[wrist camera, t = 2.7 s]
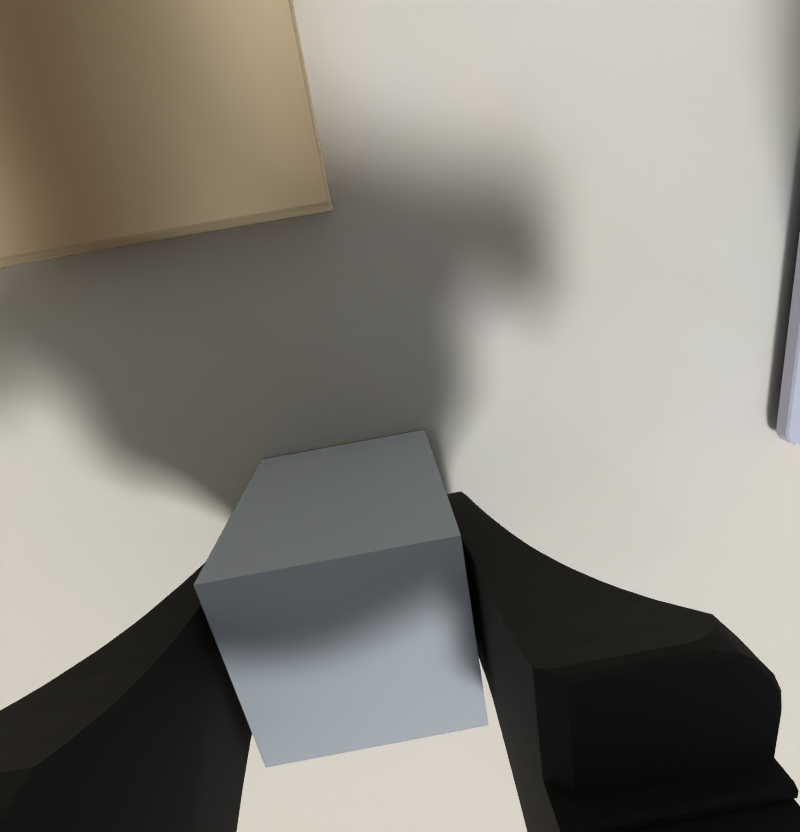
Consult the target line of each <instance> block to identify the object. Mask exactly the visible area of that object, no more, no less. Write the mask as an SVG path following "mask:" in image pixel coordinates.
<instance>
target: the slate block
mask: <svg viewBox="0 0 800 832" xmlns="http://www.w3.org/2000/svg"><path fill="white" fill-rule="evenodd" d="M194 588H195V590H196V593H197V595H198V598H199V600H200V603H201V605H202V608H203V610H204V613H205V615H206V618H207V620H208V623H209V626H210V628H211V631H212V633H213V636H214V638H215V641H216V643H217V646H218V648H219V651H220V653H221V656H222V658H223V661H224V663H225V666H226V668H227V671H228V673H229V676H230V678H231V681H232V683H233V686H234V689H235V691H236V694H237V696H238V699H239V701H240V704H241V706H242V709H243V711H244V714H245V716H246V719H247V721H248V724H249V726H250V729H251V731H252V734H253V736H254V739H255V741H256V744H257V747H258V749H259V752H260V754H261V757H262V759H263V762H264V764H265V767H271V766H276V765H281V764H287V763H292V762H297V761H302V760H308V759H313V758H318V757H323V756H329V755H334V754H339V753H344V752H350V751H355V750H360V749H365V748H371V747H376V746H381V745H387V744H392V743H397V742H402V741H408V740H413V739H418V738H423V737H429V736H434V735H439V734H444V733H450V732H455V731H460V730H465V729H471V728H476V727H481V726H487V725H488V719H487V712H486V705H485V698H484V691H483V685H482V678H481V671H480V664H479V657H478V650H477V643H476V636H475V630H474V623H473V616H472V609H471V602H470V595H469V588H468V581H467V574H466V568H465V561H464V554H463V547H462V540H461V534H460V531H459V529H458V526H457V523H456V520H455V517H454V514H453V511H452V508H451V505H450V502H449V499H448V496H447V493H446V490H445V488H444V485H443V482H442V479H441V476H440V473H439V470H438V467H437V464H436V461H435V458H434V455H433V452H432V449H431V447H430V444H429V441H428V438H427V435H426V432H425V430H420V431H414V432H409V433H403V434H398V435H392V436H387V437H382V438H376V439H371V440H365V441H360V442H354V443H349V444H343V445H338V446H332V447H327V448H322V449H316V450H311V451H305V452H300V453H294V454H289V455H283V456H278V457H272V458H267V459H262V460H261V461H260V463H259V465H258V467H257V468H256V470H255V472H254V474H253V476H252V478H251V479H250V481H249V483H248V485H247V487H246V489H245V491H244V492H243V494H242V496H241V498H240V500H239V502H238V504H237V505H236V507H235V509H234V511H233V513H232V515H231V516H230V518H229V520H228V522H227V524H226V526H225V528H224V529H223V531H222V533H221V535H220V537H219V539H218V541H217V542H216V544H215V546H214V548H213V550H212V552H211V553H210V555H209V557H208V559H207V561H206V563H205V565H204V566H203V568H202V570H201V572H200V574H199V576H198V578H197V579H196V581H195V583H194Z"/></svg>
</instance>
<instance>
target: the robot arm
mask: <svg viewBox="0 0 800 832" xmlns="http://www.w3.org/2000/svg"><path fill="white" fill-rule="evenodd" d="M776 429H777V434H778V436H779V437H780V438H781V439H783V440H785V441H787V442H790V443H792V444H794V445H800V234H799V243H798V251H797V259H796V268H795V276H794V284H793V293H792V301H791V309H790V318H789V326H788V334H787V343H786V351H785V359H784V368H783V376H782V385H781V393H780V401H779V410H778V418H777V426H776ZM447 496H448V499H449V502H450V505H451V508H452V511H453V514H454V517H455V520H456V523H457V526H458V529H459V531H460V534H461V540H462V547H463V554H464V561H465V568H466V574H467V581H468V588H469V595H470V602H471V609H472V616H473V623H474V630H475V636H476V643H477V650H478V656H479V659H480V662H481V664H482V667H483V670H484V672H485V675H486V678H487V681H488V684H489V688H490V691H491V694H492V697H493V701H494V705H495V708H496V712H497V716H498V720H499V724H500V727H501V731H502V735H503V739H504V742H505V746H506V750H507V754H508V758H509V762H510V765H511V769H512V773H513V777H514V781H515V785H516V789H517V792H518V796H519V800H520V804H521V808H522V812H523V816H524V820H525V824H526V828H527V832H800V806H799V804H798V803H797V802H796V801H795V799H794V798H797V796H798V789H797V787H796V785H795V783H794V781H793V780H792V779H791V778H790V776H789V775H788V774H787V773H786V772H785V770H784V769H783V768H782V767H781V766H780V764H779V763H778V762H777V761H776V759H775V758H774V754H775V748H776V742H777V735H778V729H779V723H780V717H781V689H780V687H779V685H778V682H777V680H776V678H775V676H774V674H773V673H772V672H771V671H770V670H769V669H768V668H767V667H766V666H765V665H764V664H763V663H762V662H761V661H760V660H759V659H758V658H757V657H756V656H755V655H754V654H753V652H752V651H751V650H750V649H749V648H748V647H747V646H746V645H745V644H744V643H743V642H742V641H741V640H740V639H739V638H738V637H737V636H736V635H735V634H734V633H732V632H731V631H730V630H729V629H728V628H727V627H726V626H725V625H724V624H722V623H721V622H720V621H719V620H718V619H717V618H716V617H715V616H713V615H712V614H709V613H705V612H701V611H697V610H693V609H689V608H685V607H681V606H677V605H673V604H670V603H666V602H662V601H658V600H654V599H651V598H648V597H645V596H642V595H639V594H636V593H633V592H629V591H626V590H623V589H620V588H618V587H615V586H612V585H610V584H607V583H604V582H602V581H599V580H597V579H595V578H592V577H590V576H588V575H585V574H583V573H581V572H578V571H576V570H574V569H572V568H570V567H567V566H565V565H563V564H561V563H559V562H557V561H556V560H554V559H552V558H550V557H548V556H546V555H545V554H543V553H541V552H539V551H537V550H536V549H534V548H532V547H531V546H529V545H528V544H526V543H525V542H523V541H522V540H520V539H519V538H517V537H516V536H514V535H513V534H512V533H510V532H509V531H508V530H506V529H505V528H504V527H502V526H501V525H500V524H499V523H497V522H496V521H495V520H493V519H492V518H491V517H490V516H489V515H487V514H486V513H485V512H484V511H483V510H482V509H480V508H479V507H478V506H477V505H476V504H475V503H474V502H473V501H472V500H471V499H470V498H469V497H468V496H466V495H465V494H464V493H463V492H456V493H451V494H447ZM205 563H206V562H205ZM205 563H204V564H203V565H202V566H201V567H200V568H199V569H198V570H197V571H196V572H194V573H193V574H192V575H191V576H190V577H189V578H188V579H187V580H186V581H185V582H184V583H182V584H181V585H180V586H179V587H178V588H177V589H175V590H174V591H173V592H172V593H171V594H170V595H168V596H167V597H166V598H165V599H164V600H163V601H161V602H160V603H159V604H158V605H157V606H155V607H154V608H153V609H152V610H151V611H150V612H148V613H147V614H146V615H145V616H143V617H142V618H141V619H140V620H138V621H137V622H136V623H135V624H133V625H132V626H131V627H129V628H128V629H127V630H125V631H124V632H123V633H121V634H120V635H118V636H117V637H116V638H114V639H113V640H112V641H110V642H109V643H108V644H106V645H105V646H103V647H102V648H100V649H99V650H98V651H96V652H95V653H93V654H92V655H90V656H89V657H87V658H85V659H84V660H82V661H81V662H79V663H78V664H76V665H75V666H73V667H72V668H70V669H69V670H67V671H65V672H64V673H62V674H61V675H59V676H58V677H56V678H55V679H53V680H52V681H50V682H48V683H47V684H45V685H44V686H42V687H40V688H39V689H37V690H35V691H33V692H32V693H30V694H28V695H27V696H25V697H23V698H22V699H20V700H18V701H16V702H15V703H13V704H11V705H9V706H8V707H6V708H4V709H2V710H0V832H236V831H237V824H238V817H239V810H240V803H241V796H242V789H243V783H244V776H245V770H246V764H247V758H248V752H249V746H250V740H251V736H252V731H251V729H250V726H249V724H248V721H247V719H246V716H245V714H244V711H243V709H242V706H241V704H240V701H239V699H238V696H237V694H236V691H235V689H234V686H233V683H232V681H231V678H230V676H229V673H228V671H227V668H226V666H225V663H224V661H223V658H222V656H221V653H220V651H219V648H218V646H217V643H216V641H215V638H214V636H213V633H212V631H211V628H210V626H209V623H208V620H207V618H206V615H205V613H204V610H203V608H202V605H201V603H200V600H199V598H198V595H197V593H196V590H195V588H194V583H195V581H196V579H197V578H198V576H199V574H200V572H201V570H202V568H203V566H204V565H205Z"/></svg>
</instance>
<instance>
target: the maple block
mask: <svg viewBox="0 0 800 832" xmlns="http://www.w3.org/2000/svg"><path fill="white" fill-rule="evenodd" d="M332 210H333V208H332V203H331V198H330V192H329V187H328V182H327V177H326V172H325V167H324V162H323V156H322V151H321V146H320V141H319V136H318V131H317V125H316V120H315V115H314V110H313V105H312V100H311V95H310V89H309V84H308V79H307V74H306V69H305V64H304V59H303V53H302V48H301V43H300V38H299V33H298V28H297V23H296V17H295V12H294V7H293V2H292V0H0V267H5V266H11V265H16V264H22V263H28V262H34V261H40V260H46V259H51V258H57V257H63V256H69V255H75V254H81V253H86V252H92V251H98V250H104V249H110V248H116V247H122V246H127V245H133V244H139V243H145V242H151V241H157V240H162V239H168V238H174V237H180V236H186V235H192V234H197V233H203V232H209V231H215V230H221V229H227V228H232V227H238V226H244V225H250V224H256V223H262V222H267V221H273V220H279V219H285V218H291V217H297V216H303V215H308V214H314V213H320V212H326V211H332Z"/></svg>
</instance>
